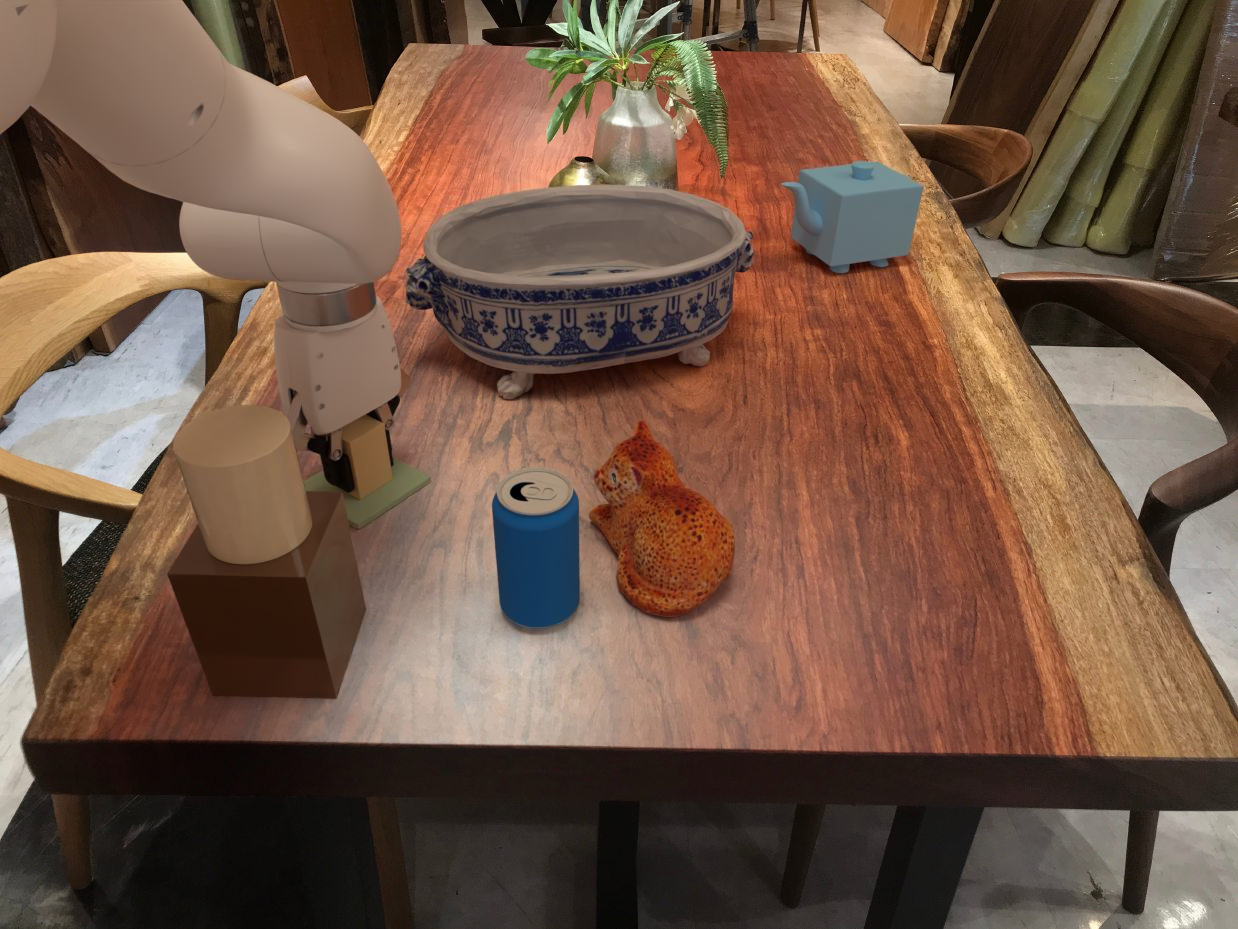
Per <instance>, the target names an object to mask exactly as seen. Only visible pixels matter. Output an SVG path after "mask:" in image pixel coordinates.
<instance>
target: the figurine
mask: <svg viewBox="0 0 1238 929" xmlns="http://www.w3.org/2000/svg"><path fill="white" fill-rule="evenodd" d="M636 422H637V423H636V426H635V428H634V432H633V435H632V436H631V437H629V438H627V439H625V440H623V441H621V442H618V443H617V445H616V446H615V448H614V449H613V451H612V453H611V454H610V455H609V458H608V459H607V460H606V461H605V462H604V463H603V465H602V466H601V467H600V468H598V469H597V470H596V471H595V472H594V474H593V482H594V484H595V486H596V487H597V489H598V491H599V492H600V494H601V495H602V497H604V499H605V501H606V502H607V503H602V504H598V505H597V506H595V508H593V509H592V510H591V511H590V512H589V513H588V518H589V520H590V521H591V522H593V523H594V524H595V526H597V527H598V529H600V530H601V532H602V534H603V535H604V537H605V538H606V540H607V541H608V543H609V545H610V546H611V548H612V549H613V551H614V553H615V554H617V555H618V558H617V559H618V560H617V567H616V568H617V570H616V575H615V576H616V581H617V585H618V587H619V589H620V591H621V592H622V593H623V595H624V596H625V598H626V599H627V600H628V601H629V603H630V604H631V605H633V606H635V607H636V608H638V609H639V610H641V611H642V612H643V613H646V614H649V615H655V616H659V617H664V618H673V617H674V618H675V617H680V616H683V615H685V614H688V613H689V612H691V611H693V610H695V609H696V608H697V607H699V606H701V604H703V603H705V602H706V600H708V599H709V598H710V597H711V596H712V595H713V594H715V592H716V591H717V590H718V589H719V587H720V586H721V585H722V583H724V581H726V580H727V579H728V578H729V577H730V574H731V572H732V568H733V564H734V559H735V554H736V537H735V531H734V528H733V525H732V524H731V522H729V521H728V519H727V518H725V517H724V515H722V514H721V513H720V512H718V510H717V509H716V507H715V505H714V504H713V503H712V502H710V501H709V500H708V499H707V498H706V497H704V496H703V495H702V494H701V493H699V492H697V491H696V490H694V489H691V488H688V487H686V486H685V484H684V483H683V481H682V480H681V478H680V477H679V474H678V468H677V467H676V463H675V460H674V458H673V456H672V454H671V453H670V452H669V451H668V450H667V449H666V447H664V446H663V445H662V444H660V443H659V442H658V441H656V440H655V439H654V436H653V435H652V433H651V431H650V430H651V429H650V428H649V426H648V424H647V422H646V421H644V420H639V421H636Z"/></svg>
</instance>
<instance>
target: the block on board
mask: <svg viewBox="0 0 1238 929" xmlns="http://www.w3.org/2000/svg"><path fill="white" fill-rule="evenodd" d="M326 441H327V434H326ZM342 449H343V453H344V454H346V455H347V456H348V457H349V461H350V466H351V471H352V476H353V481H354V486H355V488H354V490H353V491H352V492H350V493H347V492H346V491H344V490H342V489H340V488H338V487H337V486H333V485H331V484H330V483H328V482H327V480H326V479H325V476H324V471H323V469H322V470H320V471H319V472H317V473H315V474H313V475H311V476H310V477H308V478H306V479H305V480H303V481H304V485H305V489H306V491H321V492H342V493H343V498H344V502H345V507H346V512H347V517H348V522H349V526H351V527H354V528H356V529H357V530H360V529H362V528H363V527H365V526H366V525H367V524H369V523H371V522H372V521H374V520H376V519H377V518H378V517H380V516H381V515H383V514H385V513H386V512H388V511H389V510H390V509H392V508H393V507H395V506H397V505H398V504H399V503H401V502H402V501H404V500H405V499H407V498H409V497H410V496H412V495H414V494H415V493H416V492H418V491H419V490H420V489H422V488H424V487H425V486H427V485H428V484H430V483H431V482H432V476H430V475H428V474H426V473H425V472H422V471H420V470H419V469H416V468H414V467H412V466H411V465H409V464H408V463H405V462H403V461H401V460H399V459H397V458H396V457H393V462H394V465H393V466H392V467H391V464H390V458H389V452H388V446H387V439H386V433H385V427H384V423H382V422H380V421H378V420H376V419H374V418H372V417H370V416H368V415H363V416H361V417H360V418H358V419H356V420H354V421H352V422H351V423H349V424H347V425H345V426H343V427H342Z"/></svg>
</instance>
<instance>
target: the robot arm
mask: <svg viewBox="0 0 1238 929" xmlns="http://www.w3.org/2000/svg"><path fill="white" fill-rule="evenodd" d="M30 107H32V108H33V109H35V110H36V111H37V112H38V113H39V114H41V115H42V116H43V117H44V118H46V119H47V120H48V121H49V122H50V123H52V124H53V125H54V126H55V127H56V128H57V129H59V130H60V131H62V132H63V133H64V134H65V135H66V136H67V137H69V138H70V139H71V140H72V141H74V142H75V143H76V144H77V145H79V146H80V147H81V148H82V149H83V150H84V151H85V152H87V154H89V155H91V157H93V158H94V159H95V160H97V161H98V162H99V163H100V164H101V165H102V166H103V167H104V168H106V169H107V170H108V171H109V172H111V173H112V174H113V175H115V176H116V177H118V178H119V179H120V180H122V181H123V182H125V183H127V184H129V185H131V186H133V187H136V188H138V189H139V190H143V191H145V192H147V193H150V194H151V193H152V194H155V195H158V196H161V197H164V198H167V199H173V200H176V201H179V202H181V203H182V205H181V209H180V213H179V220H178V221H179V225H178V226H179V236H180V239H181V242H182V245H183V248H184V250H185V252H186V254H187V256H188V257H189V258H190V260H191V261H192V262H193V263H194V265H196V266H197V267H198V268H199V269H200V270H202V271H204V272H206V273H207V274H209V275H210V276H211V275H212V276H214V277H217V278H221V279H225V280H231V281H240V282H242V281H243V282H267V283H268V282H271V283H272V282H273V283H275V284H276V285H275V286H276V288H277V294H278V297H279V298H278V299H279V303H280V307H281V312H282V315H281V316H279V317H278V318H276V319H275V320H274V332H273V333H274V334H273V348H274V349H273V351H274V362H275V373H276V379H277V380H276V381H277V387H278V392H279V399H280V403H281V408H282V411H283V412H282V413H283V414H284V415H285V416H286V417H287V418H288V420H289V422H290V425H291V429H292V434H293V438H294V442H295V447H296V451H300V452H306V451H307V452H312V453H314V454H317V455H319V457H320V461H321V465H322V470H323V471H324V476H325V479H326V480H327V482H328V483H330V484H331V485H333V486H337V487H338V488H340V489H342V490H344V491H346V492H347V493H350V492H352V491H353V490H354V488H355V486H354V481H353V476H352V471H351V466H350V461H349V457H348V456H347V455H346V454H344V453H343V449H342V427H343V426H345V425H347V424H349V423H351V422H352V421H354V420H356V419H358V418H360V417H361V416H363V415H368V416H370V417H372V418H374V419H376V420H378V421H380V422H382V423H384V427H385V433H386V439H387V446H388V452H389V458H390V464H391V467H392V466H393V465H394V462H393V458H394V457H393V446H392V440H391V434H390V430H391V429H392V428H394V425H395V419H394V415H395V413H396V411H397V409H398V408H399V405H400V404H401V403H400V402H401V398H402V397H403V396H404V394H405V393H406V391H407V390H408V389H409V387H410V386H411V384H412V379H411V377H410V376H409V375H408V374H407V373H406V372H405V371H404V370H403V369H402V368H401V363H400V359H399V353H398V349H397V345H396V340H395V337H394V333H393V329H392V326H391V323H390V320H389V317H388V313H387V311H386V309H385V306H384V305H383V302H382V299H381V298H380V297H379V296H378V295H376V288H375V282H377V281H380V280H381V279H383V278H384V277H385V276H387V275H388V274H389V273H390V272H391V270H392V269H393V268H394V266H395V265H396V262H397V261H398V258H399V254H400V252H401V247H402V233H403V232H402V231H403V230H402V221H401V215H400V209H399V207H398V204H397V200H396V198H395V195H394V192H393V190H392V187H391V185H390V183H389V181H388V179H387V177H386V175H385V174H384V172H383V170H382V168H381V166H380V165H379V162H378V161H377V159H376V157H375V156H374V154H373V153H372V151H371V150H370V147H369V146H368V145H367V144H366V143H365V141H364V140H363V139H362V137H361V136H359V134H357V133H356V132H355V131H354V130H353V129H352V128H350V127H349V126H347V125H346V124H345V123H343V122H342V121H341V120H339V119H338V118H336V117H335V116H333V115H331V114H329V113H328V112H327V111H324V110H322V109H321V108H319V107H317V106H315V105H313V104H311V103H309V102H307V101H306V100H304V99H301V98H300V97H298V96H296V95H294V94H292V93H291V92H289V91H287V90H285V89H284V88H281V87H279V86H277V85H275V84H274V83H272V82H270V81H268V80H266V79H265V78H262V77H259V76H257V75H255V74H253V73H252V72H249V71H246V70H245V69H242V68H240V67H238V66H236V65H233V64H232V63H231V62H230V63H229V61H228V60H227V58H226V57H225V56H224V54H223V53H222V51H221V50H220V49H219V47H218V46H217V45H216V43H215V42H214V41H213V39H212V38H211V36H210V35H208V33H207V32H206V30H205V29H204V28H203V26H202V25H201V23H200V22H199V21H198V19H197V18H196V17H195V15H194V14H193V13H192V11H191V10H190V8H188V6H187V5H186V3H185V2H184V1H183V0H0V135H2V134H3V133H4V132H5V131H6V130H7V129H9V128H10V127H11V126H12V125H14V124H15V123H16V122H17V121H18V120H19V119H20V118H21V116H23V114H24V113H25V112H26V111H27V110H28V109H29V108H30ZM307 425H310V433H308V432H306V429H307ZM326 434H327V441H326Z"/></svg>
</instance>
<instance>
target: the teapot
mask: <svg viewBox="0 0 1238 929" xmlns="http://www.w3.org/2000/svg"><path fill="white" fill-rule="evenodd" d="M780 185H781V186H782V187H785V188H786V189H788V190H789V191H790V192H791V193H792V195H793V199H794V209H793V210H794V211H793V216H792V217H793V218H792V225H791V233H790V239H792V240H793V241H794V242H796V243H798V244H799V245H800V246H802V247H803V248H804V249H805V252H806V253H807V254H809V255H813V256H815V257H816V258H818V259H819V260H821V261H822V262H823V263H825V264H826V265H827V266H829V270H830V271H831V272H834V273H837V274H846V273H848V272H849V271H850V266H851V265H850V264H856V263H857V264H858V263H864V262H868V263H869V264H870V265H871V266H874V267H878V268H885V267H888V266H889V264H890V263H889V261H888V259H891V258H897V257H905V256H909V255H910V250H911V245H912V242H913V237H914V232H915V229H916V223H917V219H918V214H919V210H920V207H921V206H920V205H921V201H922V198H923V193H924V188H925V187H924V185H923V184H921V183H919V182H917V181H915V180H913V179H912V178H911V177H909V176H908V175H906V174H904V173H901V172H898V171H896V170H895V169H893V168H891V167H889V166H887V165H886V164H883V163H881V162H879V161H868V160H867V161H866V160H856V161H853V162H852V163H848V164H840V165H832V166H824V167H822V166H821V167H814V168H804V169H800V171H799V174H798V182H796V181H786V182H781V183H780Z"/></svg>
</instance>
